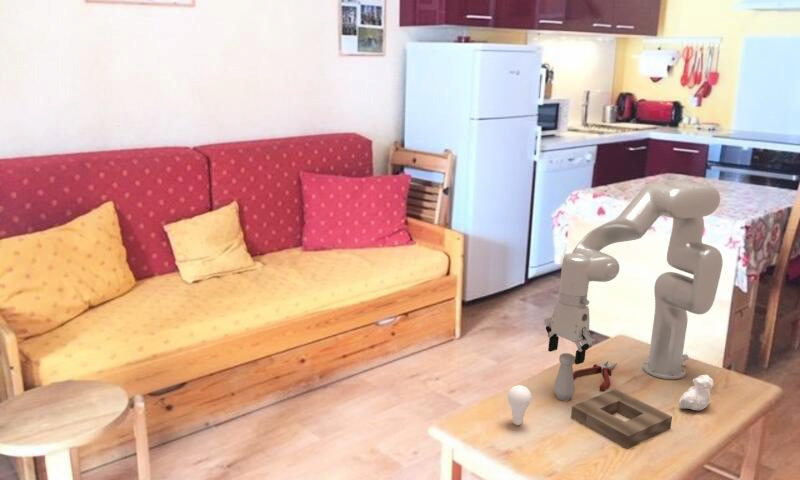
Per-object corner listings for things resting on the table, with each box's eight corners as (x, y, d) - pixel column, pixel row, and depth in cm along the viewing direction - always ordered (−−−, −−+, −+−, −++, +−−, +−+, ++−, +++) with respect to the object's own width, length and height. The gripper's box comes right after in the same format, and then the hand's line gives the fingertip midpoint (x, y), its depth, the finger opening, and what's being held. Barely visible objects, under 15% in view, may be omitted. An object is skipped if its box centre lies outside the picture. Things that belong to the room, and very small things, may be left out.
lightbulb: (532, 423, 179) (535, 385, 177) (524, 433, 174) (527, 394, 172) (510, 416, 182) (513, 379, 180) (502, 426, 177) (504, 388, 174)
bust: (682, 421, 187) (711, 401, 179) (665, 397, 190) (692, 377, 183) (705, 408, 194) (734, 389, 187) (688, 385, 198) (715, 366, 190)
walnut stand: (614, 400, 193) (615, 388, 192) (670, 428, 179) (672, 416, 178) (571, 417, 183) (572, 405, 182) (627, 448, 169) (628, 436, 168)
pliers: (629, 371, 212) (630, 363, 212) (603, 394, 197) (604, 386, 197) (594, 360, 219) (595, 353, 219) (566, 382, 204) (567, 374, 204)
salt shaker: (548, 396, 194) (552, 354, 191) (560, 390, 198) (564, 348, 194) (566, 404, 190) (571, 361, 187) (577, 397, 194) (582, 355, 190)
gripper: (607, 306, 181) (599, 365, 186) (558, 287, 195) (551, 343, 199) (588, 310, 177) (580, 371, 181) (539, 291, 191) (533, 348, 195)
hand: (565, 356), depth 190 cm, fingers open, 9 cm apart
